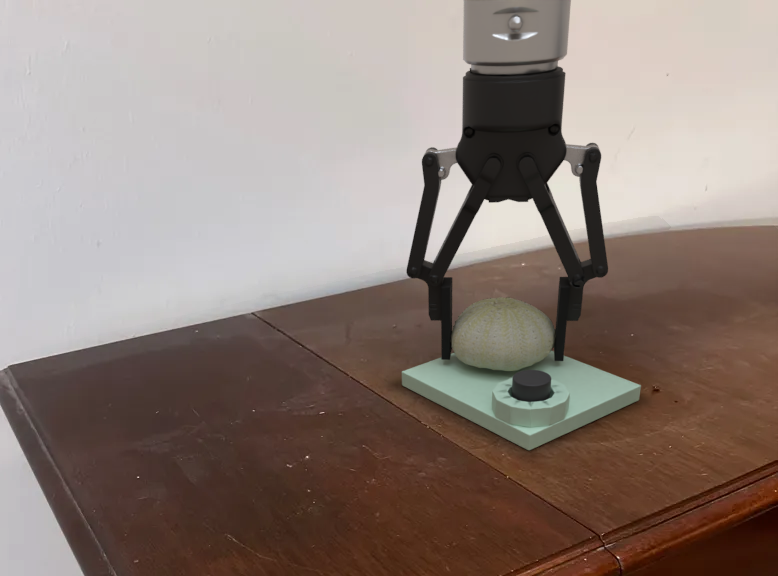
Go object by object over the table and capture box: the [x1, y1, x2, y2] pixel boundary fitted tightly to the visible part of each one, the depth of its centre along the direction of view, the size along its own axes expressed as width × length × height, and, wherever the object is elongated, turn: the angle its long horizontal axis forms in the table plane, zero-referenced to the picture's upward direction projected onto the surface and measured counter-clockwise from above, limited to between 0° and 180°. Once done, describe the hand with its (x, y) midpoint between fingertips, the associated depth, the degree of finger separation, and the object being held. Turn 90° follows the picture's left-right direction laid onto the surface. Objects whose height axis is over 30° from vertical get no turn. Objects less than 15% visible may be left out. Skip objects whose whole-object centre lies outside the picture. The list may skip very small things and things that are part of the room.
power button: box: [512, 370, 551, 402], centre depth 64 cm, size 3×3×2 cm
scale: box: [401, 350, 642, 451], centre depth 70 cm, size 16×13×3 cm
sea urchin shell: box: [450, 296, 556, 372], centre depth 72 cm, size 9×8×8 cm
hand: (502, 354), depth 73 cm, fingers closed on sea urchin shell, 9 cm apart
